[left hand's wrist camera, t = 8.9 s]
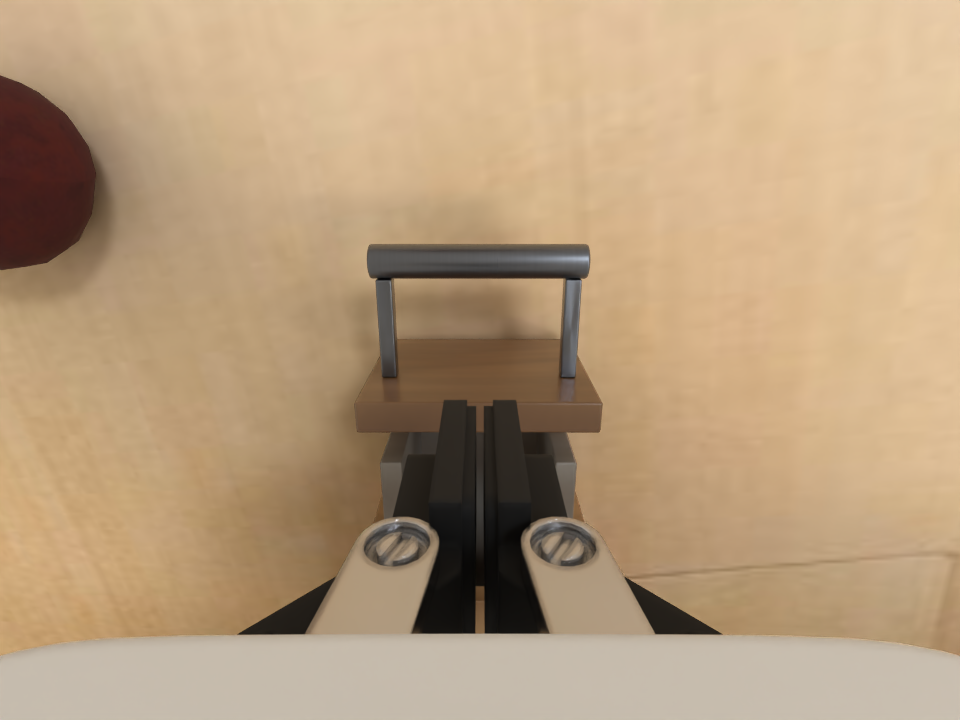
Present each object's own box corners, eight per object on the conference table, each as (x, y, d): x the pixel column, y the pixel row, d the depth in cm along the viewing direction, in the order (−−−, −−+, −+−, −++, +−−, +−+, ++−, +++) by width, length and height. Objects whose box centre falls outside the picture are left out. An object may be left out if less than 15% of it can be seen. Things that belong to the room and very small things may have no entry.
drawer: (382, 230, 24) (340, 255, 17) (576, 230, 24) (615, 255, 17) (407, 655, 33) (387, 790, 25) (551, 655, 33) (570, 791, 25)
